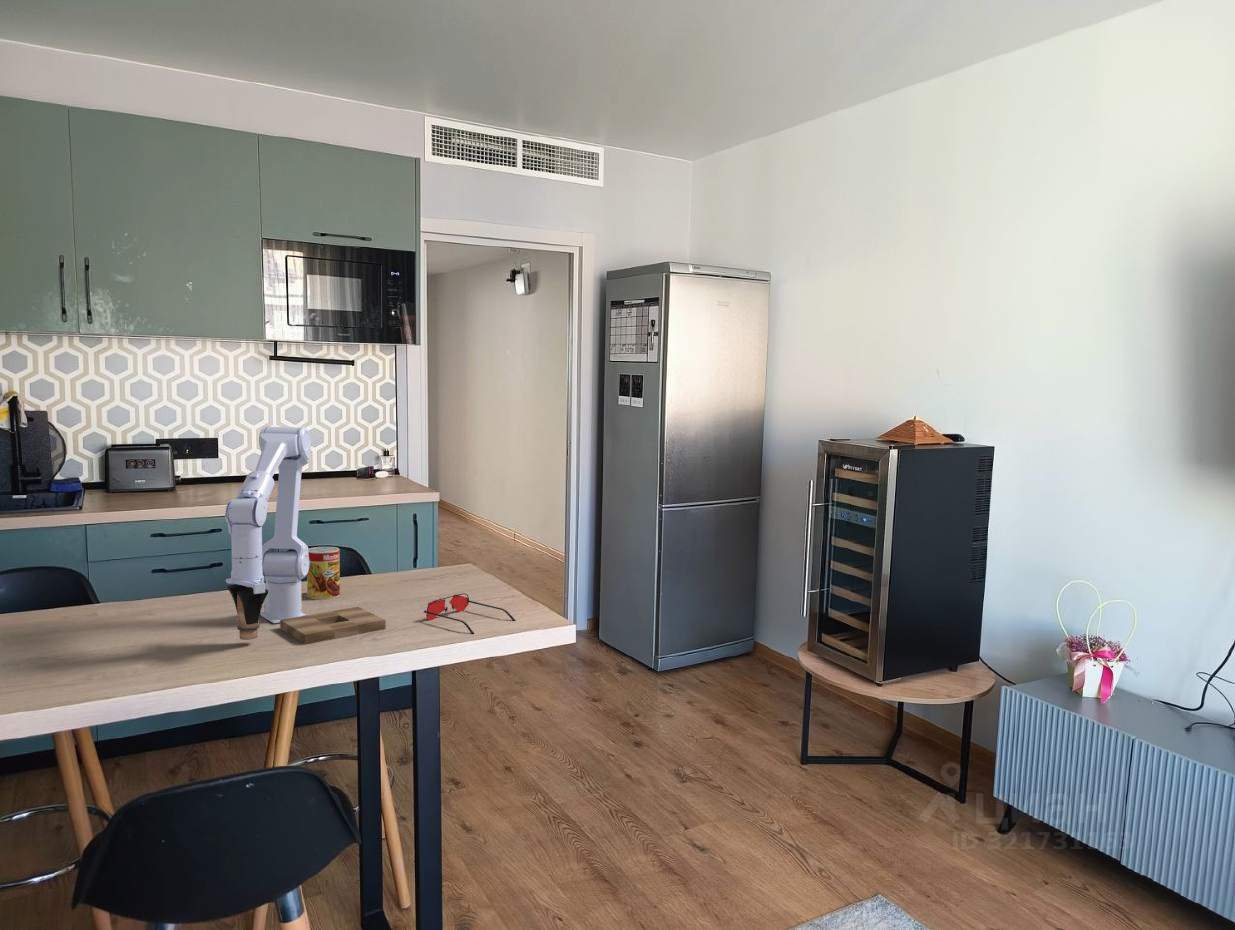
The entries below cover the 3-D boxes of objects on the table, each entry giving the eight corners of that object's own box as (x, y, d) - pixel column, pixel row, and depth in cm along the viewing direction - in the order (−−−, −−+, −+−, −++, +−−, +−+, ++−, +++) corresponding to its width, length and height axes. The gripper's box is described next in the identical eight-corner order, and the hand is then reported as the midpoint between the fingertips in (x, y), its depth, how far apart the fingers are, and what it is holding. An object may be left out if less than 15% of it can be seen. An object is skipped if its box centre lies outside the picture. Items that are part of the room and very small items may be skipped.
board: (280, 628, 180) (280, 619, 180) (357, 614, 192) (357, 606, 192) (305, 644, 170) (305, 634, 170) (385, 628, 182) (385, 619, 182)
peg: (234, 636, 169) (233, 594, 168) (255, 632, 172) (254, 591, 171) (241, 641, 166) (240, 598, 165) (262, 637, 169) (262, 595, 168)
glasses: (466, 610, 200) (466, 590, 200) (516, 622, 191) (516, 601, 190) (422, 622, 189) (422, 601, 189) (473, 636, 180) (473, 613, 179)
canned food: (333, 599, 205) (333, 552, 204) (302, 599, 205) (301, 552, 204) (344, 592, 213) (343, 546, 212) (314, 591, 213) (313, 546, 212)
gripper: (215, 552, 170) (216, 616, 171) (238, 564, 159) (239, 632, 161) (250, 548, 175) (251, 610, 176) (275, 560, 164) (276, 626, 165)
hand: (248, 620), depth 169 cm, fingers closed on peg, 4 cm apart
